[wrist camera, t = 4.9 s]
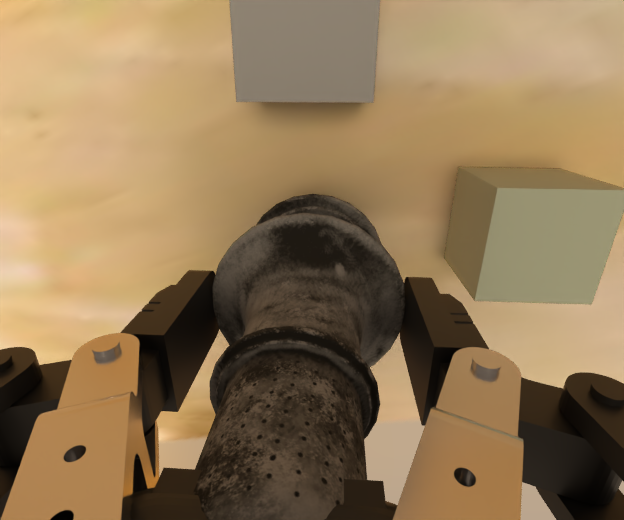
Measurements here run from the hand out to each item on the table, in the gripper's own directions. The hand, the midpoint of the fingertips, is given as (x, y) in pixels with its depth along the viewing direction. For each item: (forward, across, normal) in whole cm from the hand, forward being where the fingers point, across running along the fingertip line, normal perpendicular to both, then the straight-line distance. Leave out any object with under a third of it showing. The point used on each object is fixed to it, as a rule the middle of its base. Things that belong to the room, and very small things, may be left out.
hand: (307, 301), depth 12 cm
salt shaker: (+3, 0, 0) cm, 3 cm away
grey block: (+10, 0, -8) cm, 13 cm away
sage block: (+10, -9, 0) cm, 14 cm away
